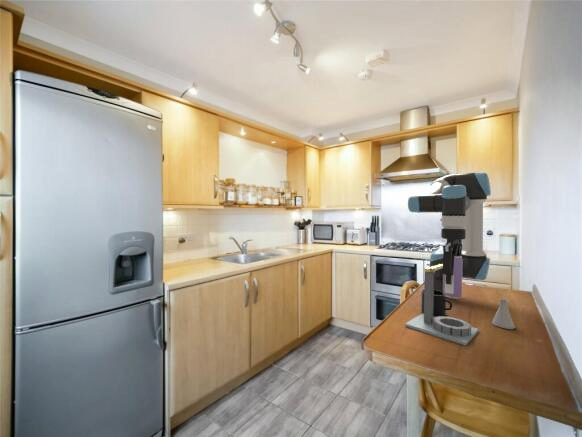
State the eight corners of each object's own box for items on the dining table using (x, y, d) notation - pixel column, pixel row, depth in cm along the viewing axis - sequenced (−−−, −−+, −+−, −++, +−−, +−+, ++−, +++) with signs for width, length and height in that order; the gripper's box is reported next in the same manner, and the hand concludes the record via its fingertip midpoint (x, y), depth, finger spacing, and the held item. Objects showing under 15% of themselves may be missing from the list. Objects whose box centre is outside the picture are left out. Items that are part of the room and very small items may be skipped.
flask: (493, 320, 108) (493, 296, 108) (516, 326, 103) (516, 300, 102) (489, 325, 103) (490, 300, 103) (514, 331, 98) (514, 304, 97)
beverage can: (458, 300, 92) (459, 257, 92) (440, 296, 96) (440, 255, 96) (464, 296, 96) (464, 255, 96) (446, 293, 100) (446, 253, 100)
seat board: (421, 315, 112) (422, 267, 112) (478, 331, 97) (479, 276, 97) (405, 326, 101) (405, 272, 101) (465, 345, 86) (466, 283, 86)
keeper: (422, 271, 102) (422, 268, 102) (437, 266, 113) (437, 263, 113) (432, 273, 100) (432, 269, 100) (446, 267, 110) (446, 265, 110)
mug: (448, 320, 107) (449, 298, 107) (418, 312, 116) (418, 291, 116) (455, 314, 114) (455, 293, 114) (425, 307, 122) (426, 288, 122)
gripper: (450, 227, 105) (449, 285, 105) (432, 228, 92) (431, 293, 93) (472, 228, 100) (471, 289, 100) (456, 228, 87) (455, 298, 87)
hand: (452, 291), depth 96 cm, fingers closed on beverage can, 6 cm apart
